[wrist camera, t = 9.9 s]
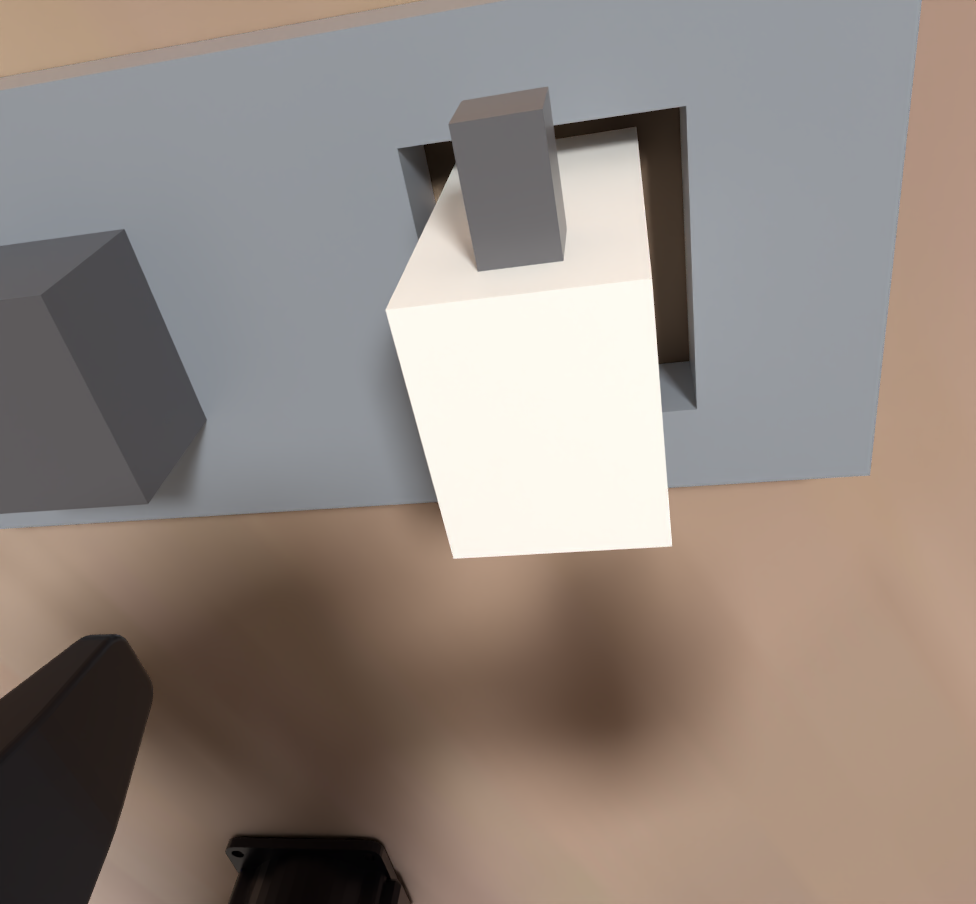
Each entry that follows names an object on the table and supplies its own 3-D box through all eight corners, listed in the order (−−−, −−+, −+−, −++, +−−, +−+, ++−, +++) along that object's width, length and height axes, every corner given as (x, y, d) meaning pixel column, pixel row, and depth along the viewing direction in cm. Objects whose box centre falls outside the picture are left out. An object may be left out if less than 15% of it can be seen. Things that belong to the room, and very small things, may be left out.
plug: (498, 350, 19) (453, 558, 14) (438, 46, 16) (343, 159, 10) (652, 334, 19) (672, 546, 13) (627, 12, 15) (639, 111, 9)
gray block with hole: (17, 483, 24) (-105, 614, 20) (-210, 115, 18) (-446, 193, 14) (848, 422, 19) (911, 574, 15) (892, -85, 14) (1010, -56, 10)
